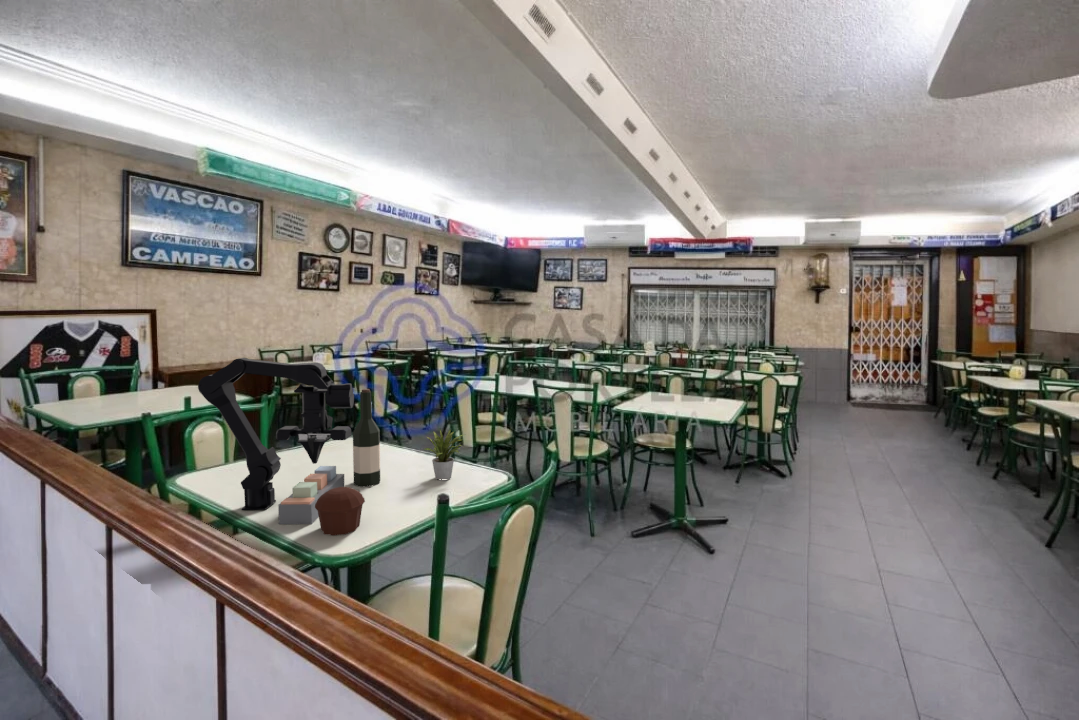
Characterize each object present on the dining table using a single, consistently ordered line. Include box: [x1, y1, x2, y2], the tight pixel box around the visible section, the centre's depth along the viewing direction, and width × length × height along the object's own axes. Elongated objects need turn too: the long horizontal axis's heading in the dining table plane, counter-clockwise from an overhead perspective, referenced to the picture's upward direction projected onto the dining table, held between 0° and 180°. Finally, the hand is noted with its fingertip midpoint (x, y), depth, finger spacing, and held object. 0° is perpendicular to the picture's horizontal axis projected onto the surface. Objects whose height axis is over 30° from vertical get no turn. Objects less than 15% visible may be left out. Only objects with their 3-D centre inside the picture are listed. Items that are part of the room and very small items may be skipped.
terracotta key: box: [303, 473, 327, 490], centre depth 145 cm, size 5×5×4 cm
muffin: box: [315, 486, 366, 537], centre depth 129 cm, size 12×11×10 cm
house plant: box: [423, 429, 466, 481], centre depth 168 cm, size 14×14×16 cm
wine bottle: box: [352, 388, 381, 488], centre depth 163 cm, size 8×8×30 cm
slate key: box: [314, 465, 337, 481], centre depth 152 cm, size 5×5×4 cm
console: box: [277, 473, 346, 525], centre depth 144 cm, size 8×26×6 cm, turn 3°
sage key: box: [292, 481, 317, 498], centre depth 137 cm, size 5×5×4 cm
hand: (315, 463), depth 144 cm, fingers closed
